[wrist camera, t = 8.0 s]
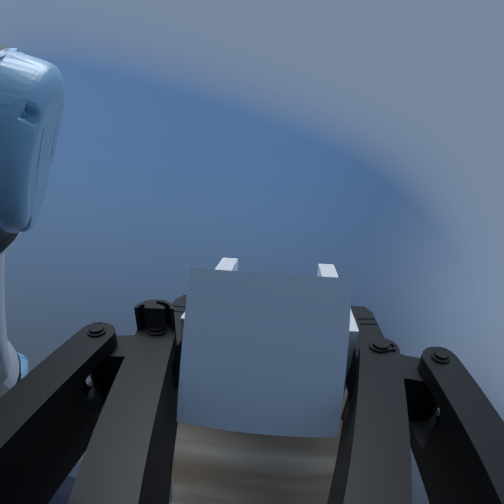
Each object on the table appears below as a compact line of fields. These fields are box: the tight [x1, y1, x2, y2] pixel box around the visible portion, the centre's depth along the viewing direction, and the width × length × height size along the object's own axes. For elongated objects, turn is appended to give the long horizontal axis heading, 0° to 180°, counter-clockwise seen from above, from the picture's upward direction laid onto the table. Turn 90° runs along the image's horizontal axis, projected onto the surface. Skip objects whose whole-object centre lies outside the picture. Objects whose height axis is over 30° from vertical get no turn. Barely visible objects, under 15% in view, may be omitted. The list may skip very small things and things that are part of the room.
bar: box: [177, 268, 352, 437], centre depth 19 cm, size 24×4×4 cm, turn 175°
